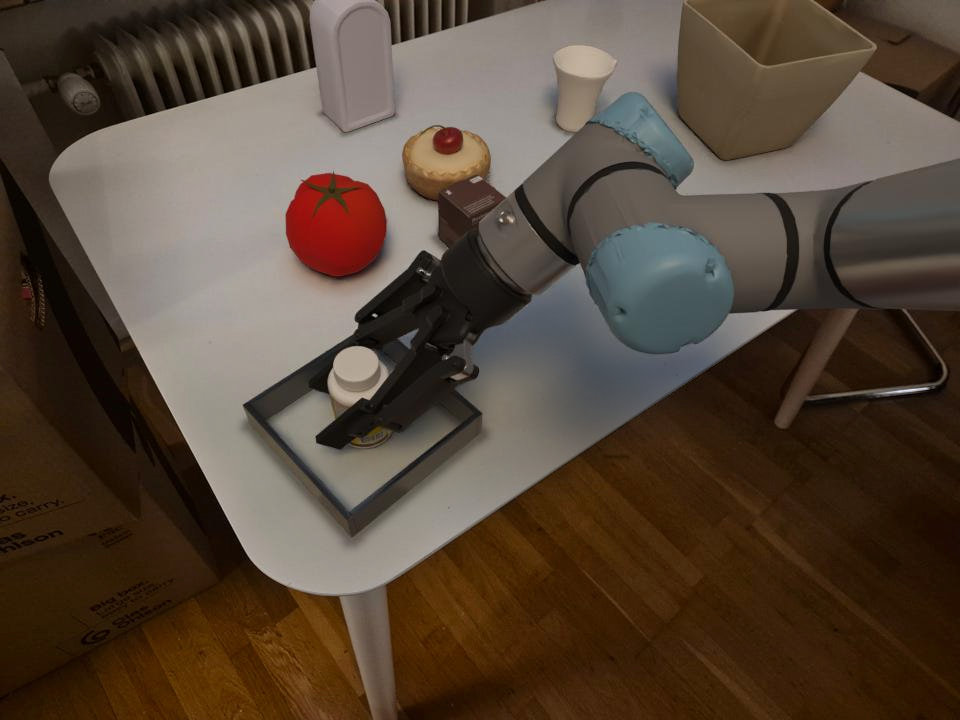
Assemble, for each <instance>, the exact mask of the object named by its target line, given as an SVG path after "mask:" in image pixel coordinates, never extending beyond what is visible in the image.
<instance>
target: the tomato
mask: <svg viewBox="0 0 960 720" xmlns="http://www.w3.org/2000/svg"><path fill="white" fill-rule="evenodd" d="M300 182H301V183H300V184H299V185H298V187H297V188H296V190H295V192H294V198H293V199H292V200H291V201H290V202H289V205H288V207H287V209H286V211H285V236H286V239H287V242H288V243H287V244H288V245H289V248H290V250H291V251H292V252H293V253H294V254H295V257H297V258H298V260H300V261H301V262H302V263H304V264H305V265H306V266H307V267H309V268H311V269H313V270H314V271H317V272H319V273H322V274H326V275H328V276H331V277H344V276H348V275H351V274H354V273H358V272H360V271H362V270H363V269H364V268H366V267H367V266H368V265H370V264H371V263H372V262H373V261H374V260H375V259H376V258H377V256H379V253H380V252H381V250H382V248H383V245H384V242H385V239H386V238H387V229H388V225H387V224H388V220H387V215H386V209H385V207H384V205H383V203H382V202H381V199H380V197H379V196H378V193H377V191H375V190H374V189H373V188H372V187H371V185H370V184H368V183H367V182H364V181H363V182H362V181H360V180H354V179H353V178H351V177H350V176H348V175H343V174H338V173H335V170H333V171H332V172H325V173H319V174H312V175H310V176H309V177H308V178H306V179H305V180H304V179H300Z"/></svg>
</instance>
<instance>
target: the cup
mask: <svg viewBox="0 0 960 720" xmlns="http://www.w3.org/2000/svg"><path fill="white" fill-rule="evenodd" d="M552 62H553V66H554V69H555V73H556V85H557V91H558V92H557V93H558V94H557V95H558V96H557V97H558V99H557V108H556V109H557V110H556V116H555V122H556V124H557V126H559V128H560V129H562V130H563V131H566V132H568V133H574V134H576V133H577V132H578V131H579V130H580V129H581V128H582V127H583V126H584V125H585V123H586V122H587V121H588V120H589V119H590V118H593V117H594V115H595V111H596V110H595V109H596V106H597V103H598V100H599V97H600V94H601V93H602V91H603V88H604V86H605V84H606V83H607V82H608V80H609V79H610V78H611V76H612V75H613V74H614V72H615V69H616V68H617V66H618V64H619V62H618V59H617V58H613V57H612V55H610V54H609V53H607V52H606V51H605V50H602V49H600V48H597V47H594V46H589V45H583V44H582V45H581V44H580V45H579V44H575V45H569V46H565V47H562V48H560V49H558V50H557V51H555V53H554V55H553V56H552Z"/></svg>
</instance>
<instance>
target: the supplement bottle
mask: <svg viewBox="0 0 960 720" xmlns="http://www.w3.org/2000/svg"><path fill="white" fill-rule="evenodd" d="M389 375H390V372H389V370H388V368H387V367H386V365H385V364H384V363H383V362H382V361H381V360H379V357H378V354H376V352H375V351H374V350H373V349H372V350H371V349H369V348H366V347H362V346H353V347H349V348H346V349H344V350H342V351H341V352H340V353H339V354H338V355H337V356H336V357H335V359H334V363H333V368H332V370H331V372H330V374H329V376H328V390H329V394H330V395H329V394H328V395H329V397H330V401H331V402H330V403H331V407H332V412H333V415H334V420H335V419H337V418H338V417H339V416H340V415H341V414H343V413H344V412H345V411H346V410H347V409H349V408H350V407H351V406H352V405H353V404H355V403H356V402H357V401H358V400H359V399H361V398H365V399H368V400H370V399H371V398H372V396H373V395H374V394H375V393H376V391H377V390H378V389H379V387H380V386H381V385H382V384H383V382H384V381H385V380H386V379H387V377H388V376H389ZM392 433H393V431H390V430H387V429H384V428H381V427H377V428H375V429H374V430H373V431H371V432H370V433H369V434H368V435H366V436H365V437H364V438H357V437H356V438H355V439H354V440H352V441H351V442H350V443H349V444H348V445H349V446H351V447H354V448H357V449H371V448H375V447H378V446H380V445H381V444H383V443H385V441H387V440H388V439H389V437H390V436H391V434H392Z"/></svg>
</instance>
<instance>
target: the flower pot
mask: <svg viewBox="0 0 960 720" xmlns="http://www.w3.org/2000/svg"><path fill="white" fill-rule="evenodd" d="M877 49H878V45H877V44H876V43H875V42H873V41H872V40H870V39H869V38H867V36H865V35H863V34H862V33H860V32H859V31H858V30H856V29H855V28H854V27H852V26H851V25H850V24H848V23H847V22H845V21H844V20H842V19H841V18H839V17H838V16H836V15H835V14H834V13H832V12H831V11H829V10H828V9H826V8H825V7H824V6H822V5H821V4H820V3H818V2H817V1H815V0H683V1H682V8H681V13H680V23H679V31H678V44H677V61H676V62H677V65H676V66H677V68H676V69H677V70H676V83H677V85H676V86H677V103H678V105H677V106H678V111H679V112H678V113H679V117H680V119H682V121H683V122H685V124H686V125H687V126H688V127H689V128H690V129H691V130H692V131H693V132H694V133H695V134H696V135H697V136H698V137H699V138H700V140H702V142H704V144H706V146H707V147H709V149H710V150H711V151H712V152H713V154H715V155H716V156H717V157H718V158H719V159H720V160H723V161H731V160H735V159H740V158H745V157H746V158H747V157H749V156H754V155H759V154H763V153H764V154H765V153H768V152H769V153H770V152H773V151H778V150H783V149H787V148H789V147H791V146H792V145H793V144H794V143H796V142H797V141H798V140H799V139H800V138H801V137H802V136H803V135H804V134H805V133H806V132H807V131H808V130H809V129H811V128H812V127H813V125H814V124H815V123H816V122H817V121H818V120H819V119H820V118H821V117H822V116H823V115H824V114H825V113H826V111H827V110H829V109H830V107H831V106H832V105H833V104H834V103H835V102H836V101H837V99H838V98H840V96H841V95H842V94H843V93H844V91H846V89H847V88H848V87H849V86H850V85H851V83H852V82H853V81H854V80H855V78H856V77H857V76H858V75H859V73H860V72H861V71H862V69H864V67H865V66H866V64H867V63H868V62H869V60H870V59H871V58H872V56H873V55H874V53H875V52H876V50H877Z"/></svg>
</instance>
